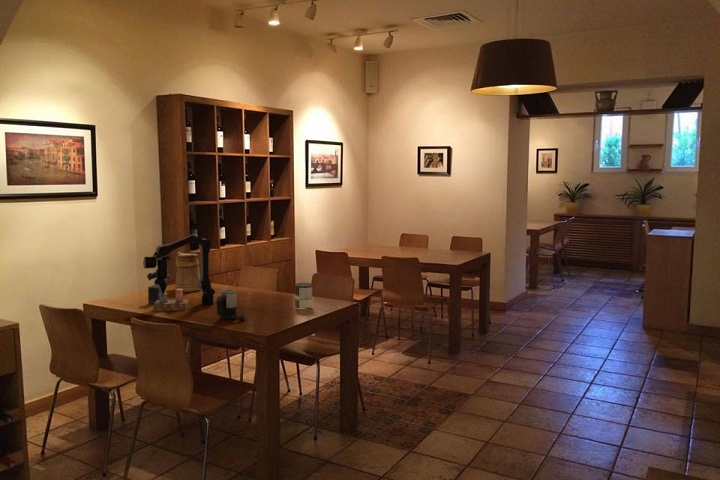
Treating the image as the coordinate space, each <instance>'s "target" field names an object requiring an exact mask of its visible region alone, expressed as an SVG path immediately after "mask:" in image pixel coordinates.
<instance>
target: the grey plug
mask: <svg viewBox="0 0 720 480" xmlns="http://www.w3.org/2000/svg"><path fill="white" fill-rule="evenodd" d="M159 296H160V303H167V300H168V293H167V292H166V293H164V294H162V293H160V294H159Z"/></svg>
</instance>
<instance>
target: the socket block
mask: <svg viewBox="0 0 720 480" xmlns="http://www.w3.org/2000/svg"><path fill="white" fill-rule="evenodd" d="M189 305H190V304H189V299H183V302H181V303H176V299H167V303H160V300H157V301H156V302H155V303H154V304H153V311H154V312H158V311H159V312H160V311H161V312H163V311H165V312H166V311H187V309H188V308H189V307H190V306H189Z"/></svg>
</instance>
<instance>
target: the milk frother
mask: <svg viewBox="0 0 720 480" xmlns="http://www.w3.org/2000/svg"><path fill="white" fill-rule="evenodd" d="M219 292H220V295H218V296H217V298H216V302H215V303H216V316H218V317H220V319H222V318H227V319H226V320H229V319H228V318H233V319H238V318H239V320H240V319H241V320H240V321H243V320H245V319H246V317H245V315H241V314H240V315H238V313H237V292H238V291H237V290H235V289H224V290H223V289H222V290H220V291H219Z"/></svg>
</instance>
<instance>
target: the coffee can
mask: <svg viewBox="0 0 720 480" xmlns="http://www.w3.org/2000/svg"><path fill="white" fill-rule="evenodd" d="M294 288H295V289H294V291H295V295H294V299H295V300H294V302H295V303H294V305H295V306H294V308H295V307H296V308H311V307H312V308H313V283H309V282H298V283H295V284H294ZM296 308H295V309H296ZM312 308H311V309H312Z"/></svg>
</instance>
